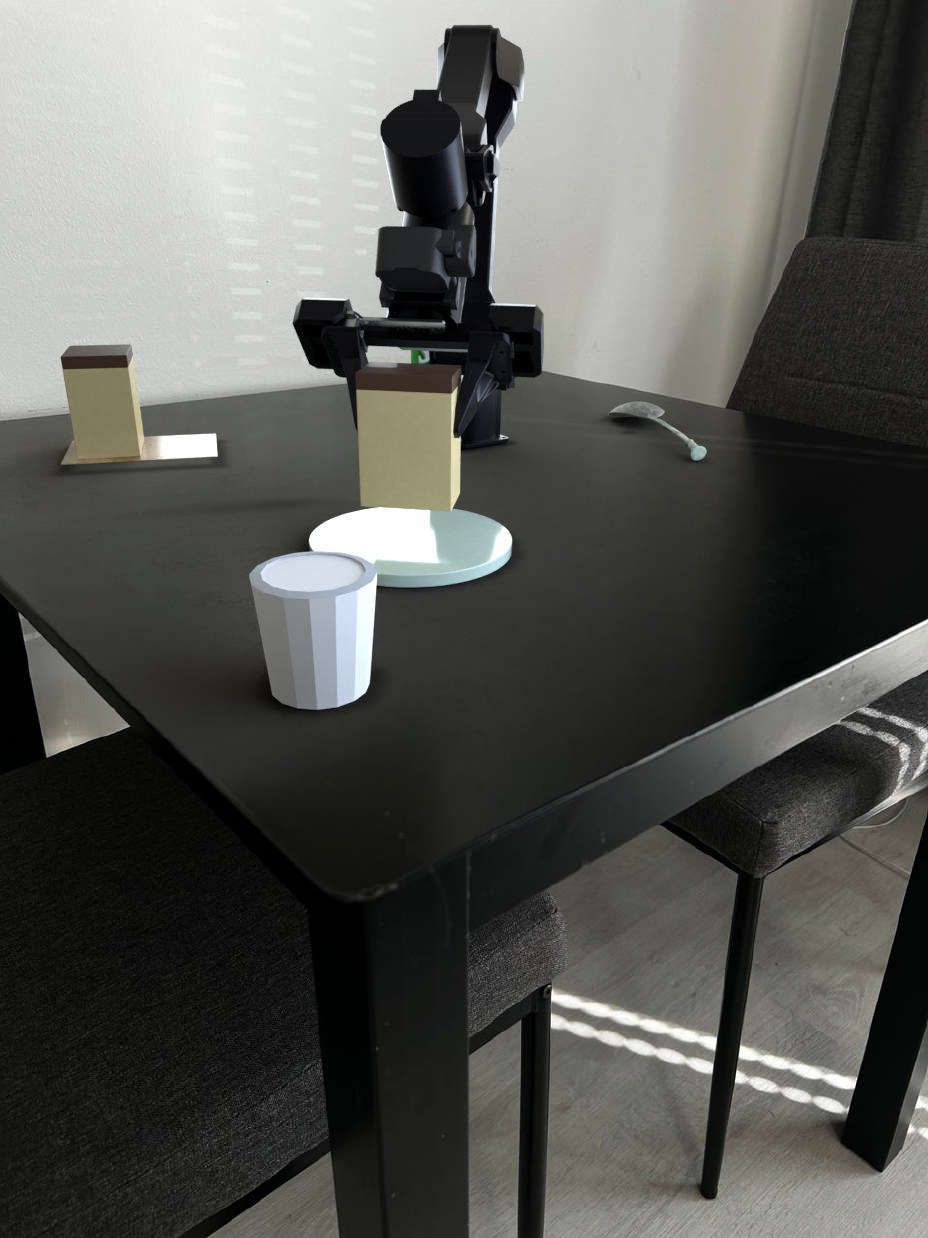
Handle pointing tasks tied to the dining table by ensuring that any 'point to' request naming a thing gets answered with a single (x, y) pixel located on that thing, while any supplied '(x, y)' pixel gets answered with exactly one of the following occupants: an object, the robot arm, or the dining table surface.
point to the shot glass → (316, 626)
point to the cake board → (159, 449)
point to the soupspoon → (652, 414)
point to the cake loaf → (103, 401)
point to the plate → (418, 544)
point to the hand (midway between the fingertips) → (406, 432)
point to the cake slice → (408, 435)
